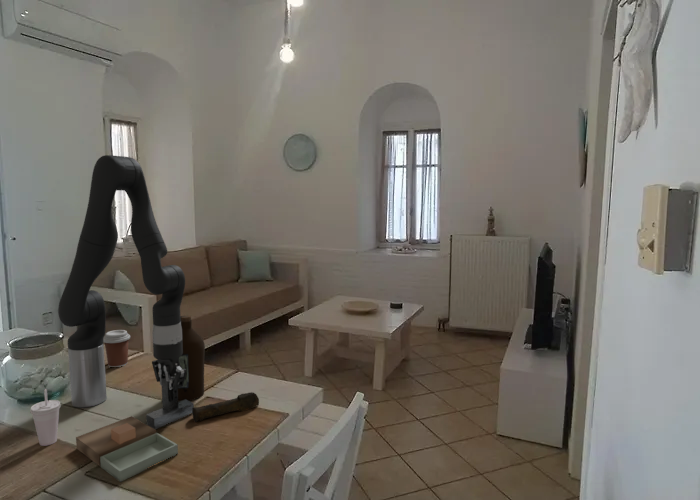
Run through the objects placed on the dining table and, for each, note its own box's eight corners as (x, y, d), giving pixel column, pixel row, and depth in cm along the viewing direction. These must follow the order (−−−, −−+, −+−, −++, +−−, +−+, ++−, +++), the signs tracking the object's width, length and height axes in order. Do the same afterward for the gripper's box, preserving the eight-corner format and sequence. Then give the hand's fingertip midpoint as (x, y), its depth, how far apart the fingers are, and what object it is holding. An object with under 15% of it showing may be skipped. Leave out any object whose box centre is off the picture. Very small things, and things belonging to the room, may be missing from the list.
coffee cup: (119, 358, 178) (117, 327, 177) (137, 362, 175) (135, 330, 173) (97, 366, 170) (95, 334, 169) (116, 370, 167) (114, 337, 165)
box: (100, 467, 109) (100, 456, 109) (157, 442, 120) (157, 432, 120) (120, 481, 104) (119, 471, 103) (177, 454, 115) (177, 444, 114)
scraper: (146, 424, 129) (144, 382, 127) (185, 409, 138) (184, 369, 137) (154, 429, 126) (152, 386, 125) (193, 413, 136) (192, 372, 134)
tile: (111, 438, 116) (110, 429, 115) (127, 432, 119) (127, 422, 119) (119, 444, 113) (119, 434, 113) (135, 437, 116) (135, 427, 116)
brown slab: (76, 448, 117) (75, 437, 116) (132, 426, 128) (131, 416, 127) (99, 466, 109) (99, 454, 109) (156, 441, 120) (155, 430, 120)
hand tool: (194, 425, 130) (194, 408, 129) (191, 418, 133) (191, 402, 132) (261, 410, 139) (261, 394, 138) (257, 404, 142) (257, 389, 142)
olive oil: (185, 385, 155) (183, 310, 152) (213, 390, 151) (210, 313, 148) (162, 398, 145) (158, 318, 142) (190, 404, 141) (187, 322, 138)
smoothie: (41, 451, 115) (36, 396, 114) (27, 443, 119) (23, 390, 117) (68, 439, 121) (64, 387, 119) (55, 432, 124) (51, 381, 122)
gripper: (140, 337, 131) (143, 397, 133) (169, 347, 122) (172, 411, 124) (165, 331, 137) (168, 388, 139) (195, 340, 128) (197, 401, 130)
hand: (170, 399), depth 132 cm, fingers closed on scraper, 3 cm apart
